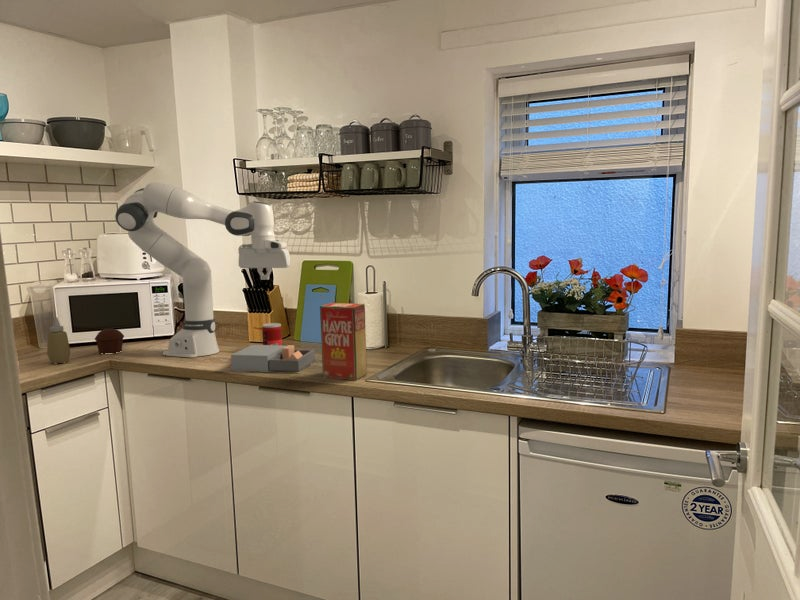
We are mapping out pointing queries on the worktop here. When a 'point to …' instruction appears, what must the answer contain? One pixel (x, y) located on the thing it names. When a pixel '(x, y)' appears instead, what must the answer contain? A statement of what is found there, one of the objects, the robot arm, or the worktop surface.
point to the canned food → (272, 334)
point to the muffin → (109, 341)
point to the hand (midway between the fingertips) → (265, 279)
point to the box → (292, 362)
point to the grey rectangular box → (255, 357)
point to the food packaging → (343, 341)
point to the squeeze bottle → (58, 344)
